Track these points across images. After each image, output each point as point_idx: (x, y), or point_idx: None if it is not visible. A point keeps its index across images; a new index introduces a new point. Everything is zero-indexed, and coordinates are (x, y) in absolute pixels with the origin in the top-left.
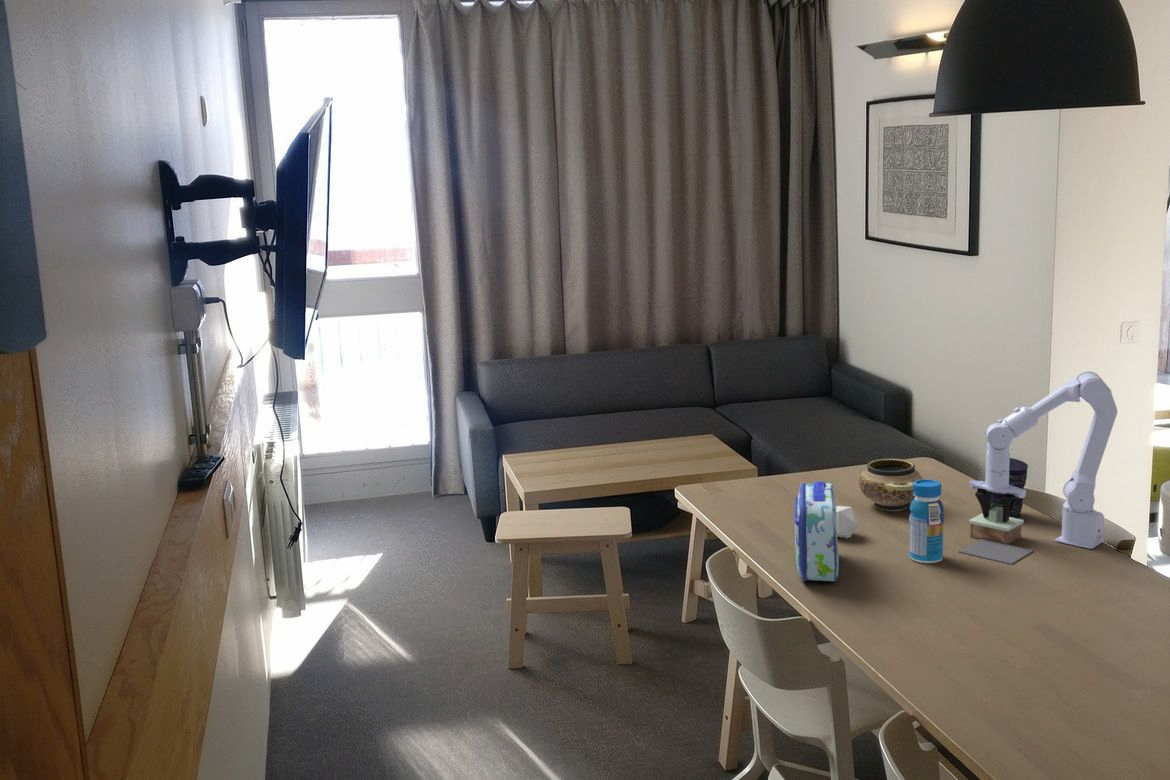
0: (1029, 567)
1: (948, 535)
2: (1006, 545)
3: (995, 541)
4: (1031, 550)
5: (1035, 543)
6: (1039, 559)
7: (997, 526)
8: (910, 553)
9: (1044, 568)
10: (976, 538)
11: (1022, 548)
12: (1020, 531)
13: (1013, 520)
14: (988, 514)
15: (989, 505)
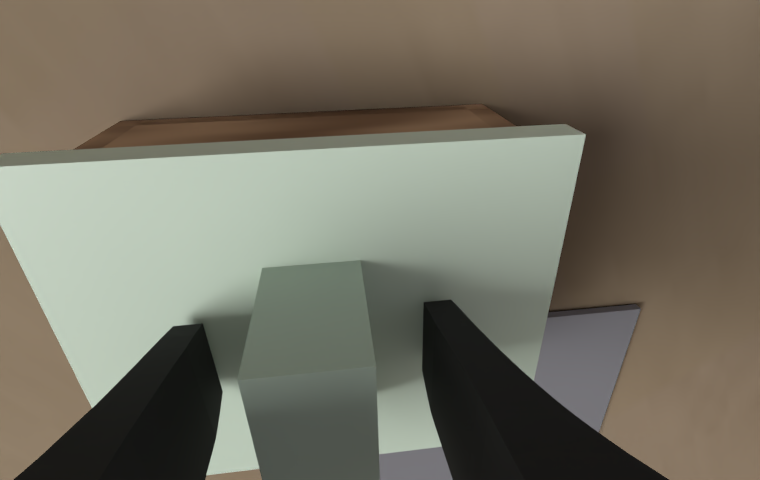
0: (652, 463)
1: (59, 400)
2: None
3: None
4: (630, 316)
5: (620, 159)
6: (683, 372)
7: (425, 448)
8: None
9: (716, 436)
10: None
11: (574, 323)
12: None
13: (482, 233)
14: (201, 368)
15: (138, 445)
